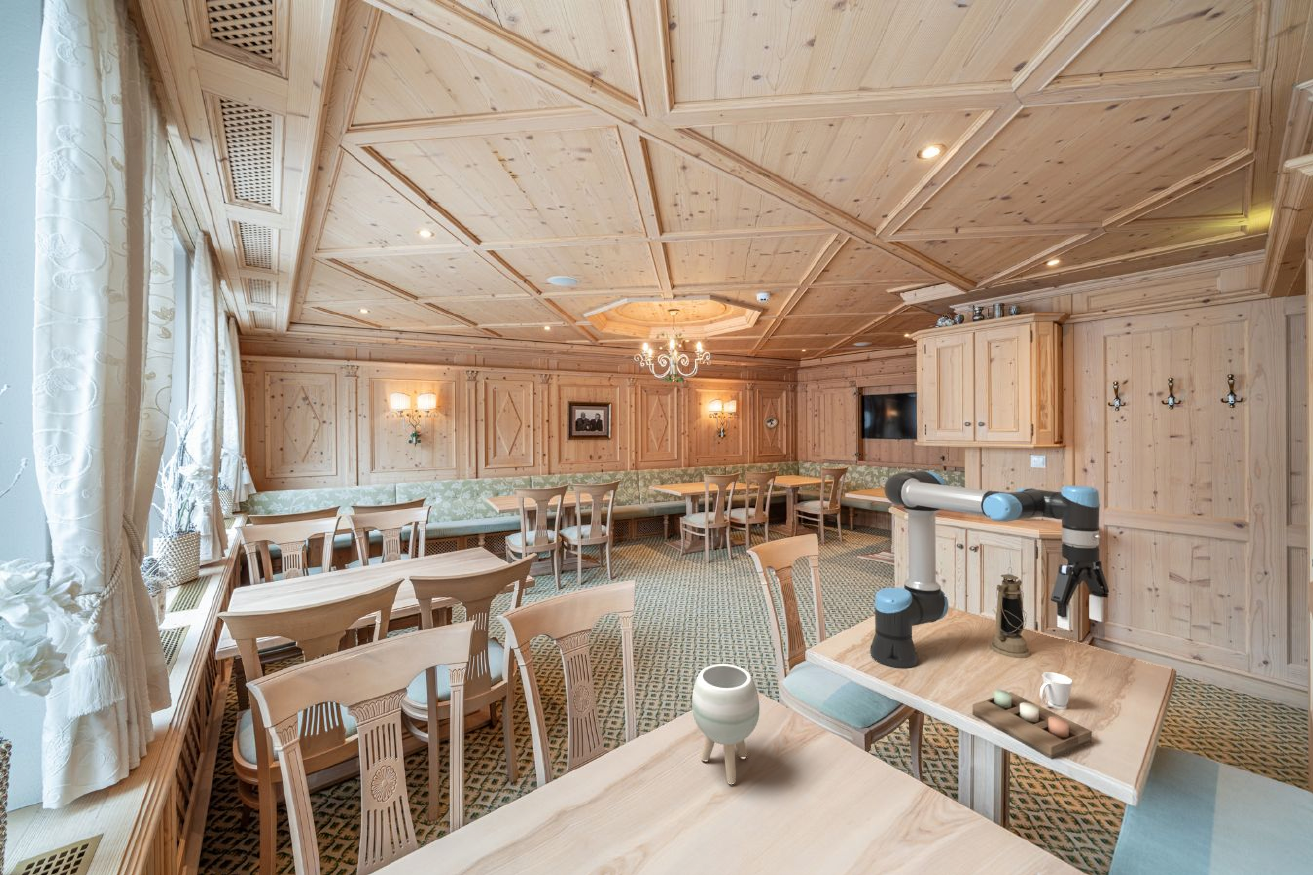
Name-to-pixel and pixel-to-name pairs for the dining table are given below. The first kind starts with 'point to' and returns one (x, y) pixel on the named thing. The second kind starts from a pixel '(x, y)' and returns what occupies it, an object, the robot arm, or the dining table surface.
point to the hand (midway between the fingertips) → (1080, 624)
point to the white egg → (1029, 712)
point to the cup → (1056, 689)
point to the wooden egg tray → (1032, 727)
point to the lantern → (1010, 619)
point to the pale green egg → (1002, 698)
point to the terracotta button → (1058, 727)
